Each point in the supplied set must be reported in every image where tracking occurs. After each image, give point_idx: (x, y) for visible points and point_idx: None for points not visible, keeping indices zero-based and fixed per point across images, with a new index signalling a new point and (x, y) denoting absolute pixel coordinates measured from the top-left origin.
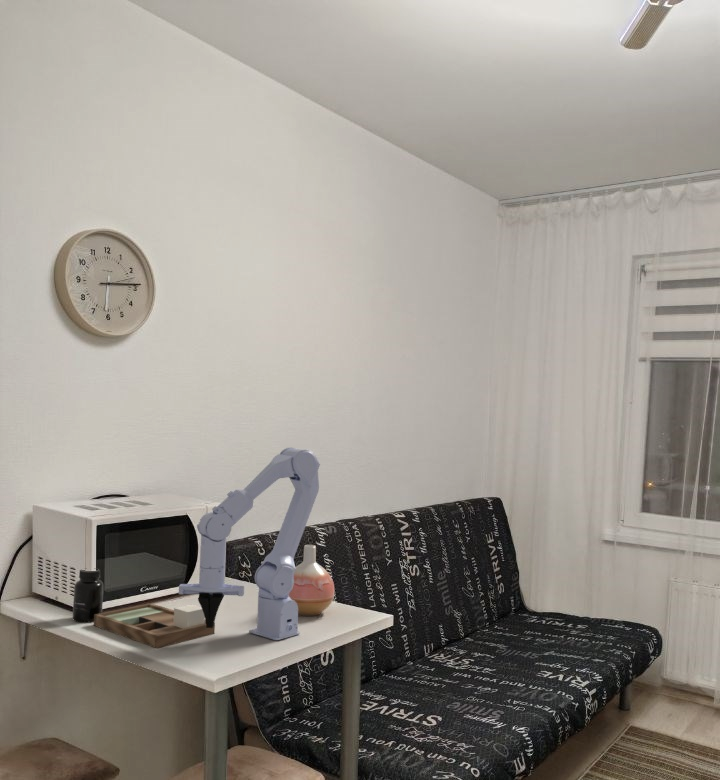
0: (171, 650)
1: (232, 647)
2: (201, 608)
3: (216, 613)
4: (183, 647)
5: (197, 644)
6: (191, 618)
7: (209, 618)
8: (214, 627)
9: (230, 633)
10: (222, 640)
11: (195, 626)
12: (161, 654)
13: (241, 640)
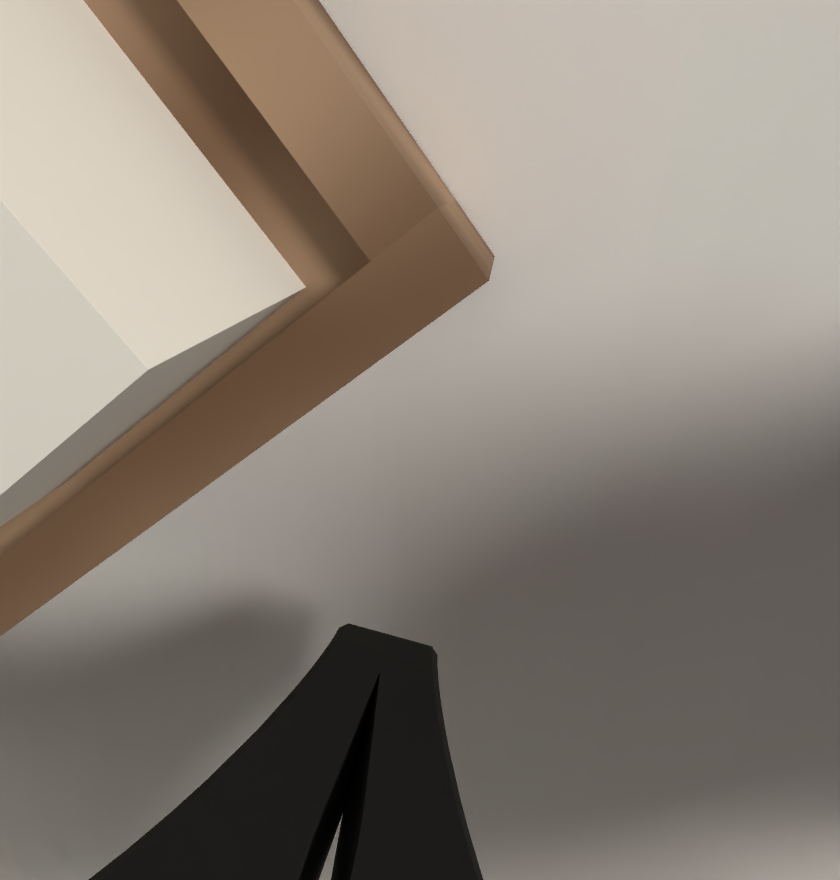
0: (62, 747)
1: (632, 796)
2: (46, 361)
3: (458, 821)
4: (151, 697)
5: (277, 643)
6: (2, 518)
7: (321, 860)
8: (489, 266)
9: (747, 267)
10: (565, 566)
11: (159, 479)
12: (7, 812)
13: (806, 609)
